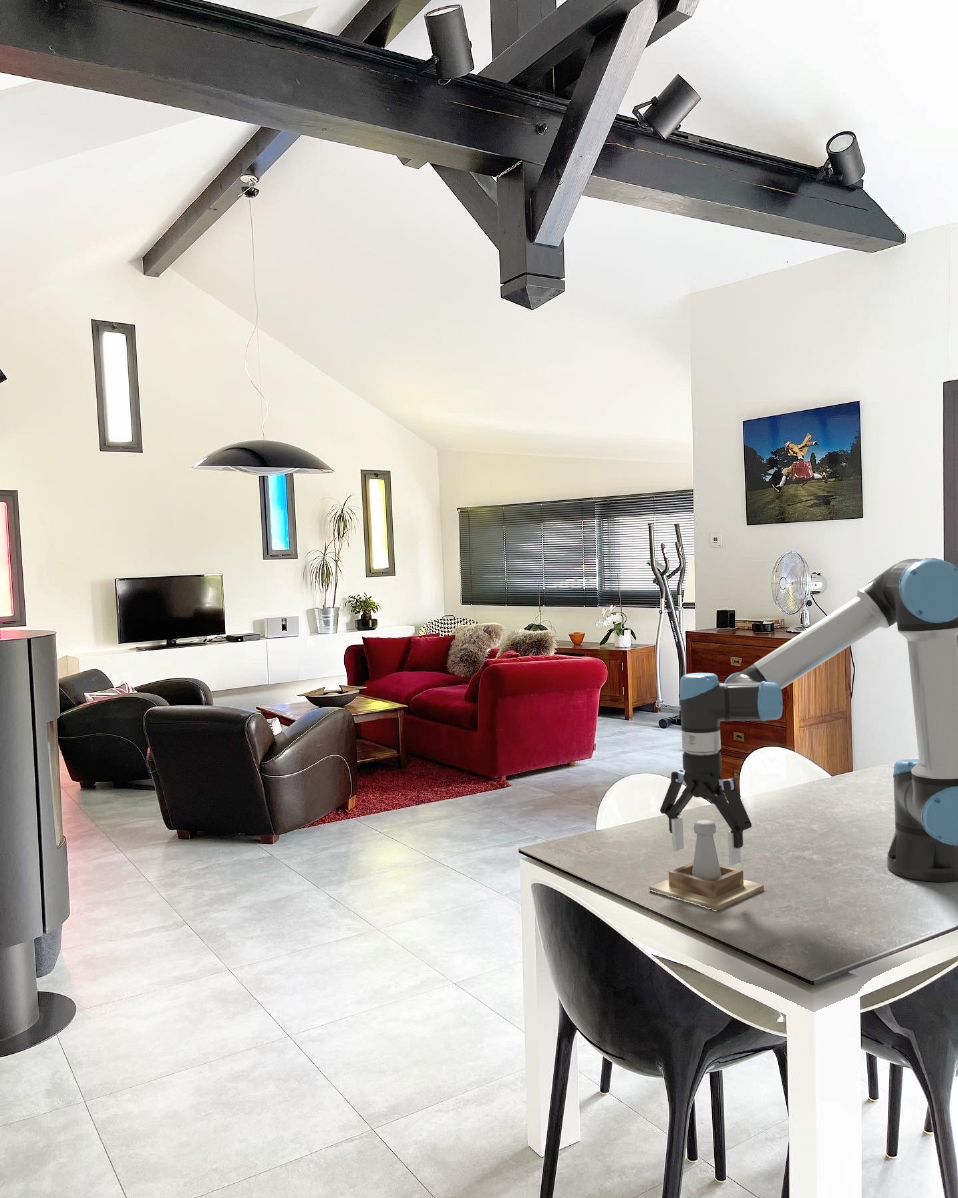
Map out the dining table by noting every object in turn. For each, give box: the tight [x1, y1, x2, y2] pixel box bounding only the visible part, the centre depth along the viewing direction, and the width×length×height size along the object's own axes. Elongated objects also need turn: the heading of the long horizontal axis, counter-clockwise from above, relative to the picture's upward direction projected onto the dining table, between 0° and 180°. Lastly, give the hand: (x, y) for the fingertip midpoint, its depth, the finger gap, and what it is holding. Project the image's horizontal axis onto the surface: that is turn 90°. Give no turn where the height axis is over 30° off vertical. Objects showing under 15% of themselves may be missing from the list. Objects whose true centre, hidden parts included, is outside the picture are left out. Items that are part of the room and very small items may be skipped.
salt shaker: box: [692, 819, 721, 881], centre depth 186 cm, size 6×6×13 cm
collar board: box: [648, 861, 765, 911], centre depth 186 cm, size 16×16×4 cm
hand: (705, 856), depth 186 cm, fingers open, 13 cm apart
